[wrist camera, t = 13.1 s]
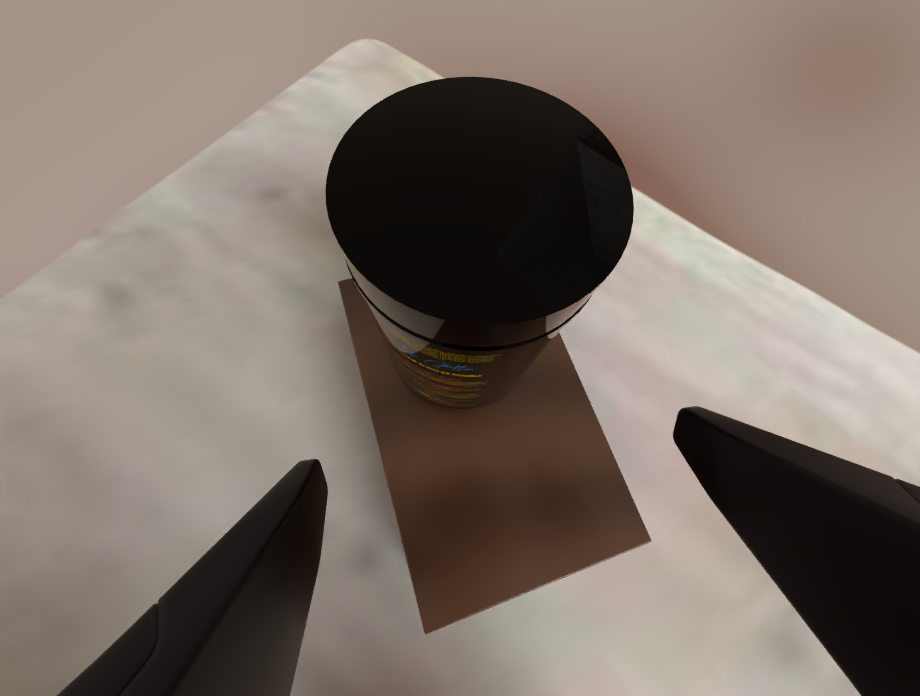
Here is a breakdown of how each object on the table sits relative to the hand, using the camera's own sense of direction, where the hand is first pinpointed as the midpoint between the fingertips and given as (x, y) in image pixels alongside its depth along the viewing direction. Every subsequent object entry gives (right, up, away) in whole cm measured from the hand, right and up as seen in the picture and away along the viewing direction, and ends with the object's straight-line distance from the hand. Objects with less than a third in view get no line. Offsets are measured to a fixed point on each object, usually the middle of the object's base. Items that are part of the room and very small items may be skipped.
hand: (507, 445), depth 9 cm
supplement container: (-1, +3, +9) cm, 9 cm away
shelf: (-1, -2, +13) cm, 13 cm away
